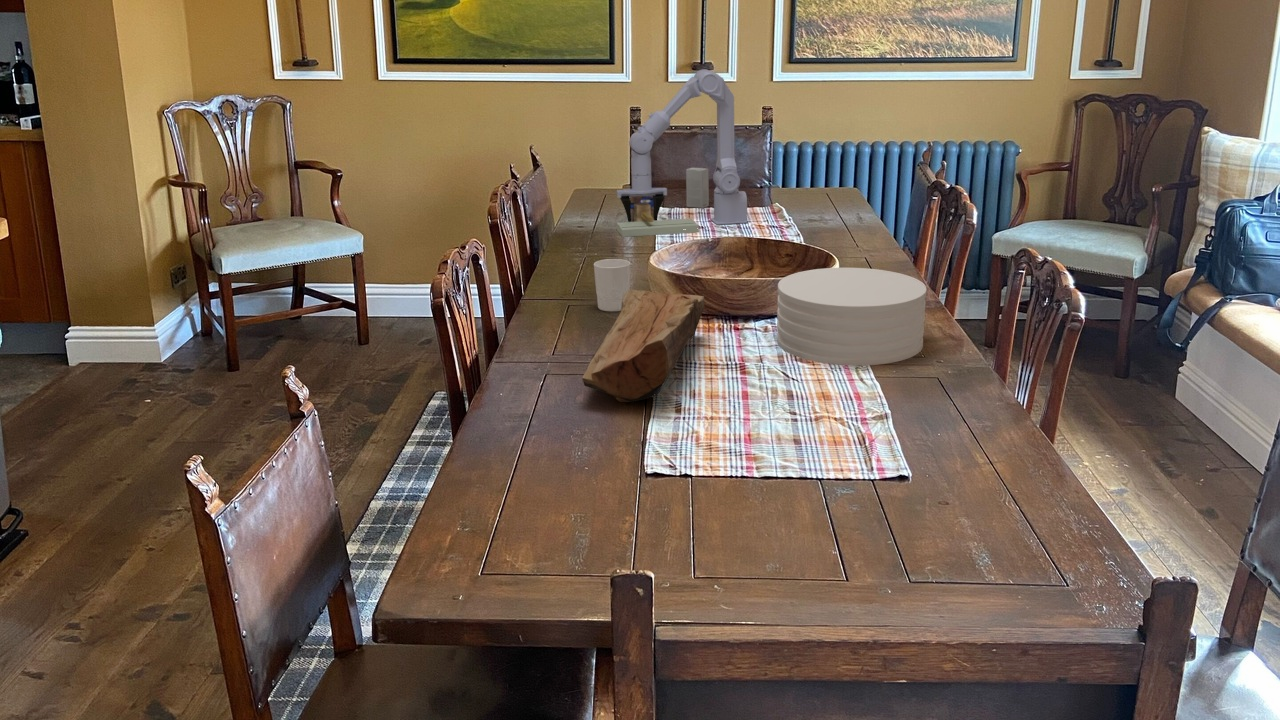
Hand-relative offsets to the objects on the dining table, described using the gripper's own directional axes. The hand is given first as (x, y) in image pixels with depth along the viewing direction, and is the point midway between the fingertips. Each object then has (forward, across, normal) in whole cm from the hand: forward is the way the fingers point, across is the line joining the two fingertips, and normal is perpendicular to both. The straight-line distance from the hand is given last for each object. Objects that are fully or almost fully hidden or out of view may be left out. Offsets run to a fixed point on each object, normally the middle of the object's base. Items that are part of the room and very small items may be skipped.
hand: (642, 220), depth 315 cm
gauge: (+2, 0, +4) cm, 5 cm away
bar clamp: (+2, -3, -20) cm, 20 cm away
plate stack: (+2, -20, +116) cm, 118 cm away
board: (+2, -3, +7) cm, 8 cm away
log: (+2, +21, +122) cm, 123 cm away
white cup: (+2, +21, +81) cm, 84 cm away
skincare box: (+2, -22, -24) cm, 33 cm away
